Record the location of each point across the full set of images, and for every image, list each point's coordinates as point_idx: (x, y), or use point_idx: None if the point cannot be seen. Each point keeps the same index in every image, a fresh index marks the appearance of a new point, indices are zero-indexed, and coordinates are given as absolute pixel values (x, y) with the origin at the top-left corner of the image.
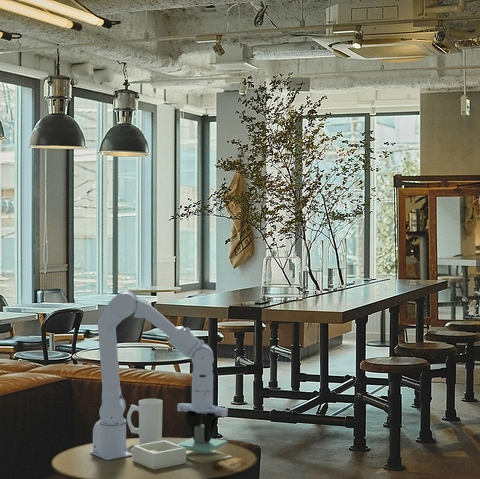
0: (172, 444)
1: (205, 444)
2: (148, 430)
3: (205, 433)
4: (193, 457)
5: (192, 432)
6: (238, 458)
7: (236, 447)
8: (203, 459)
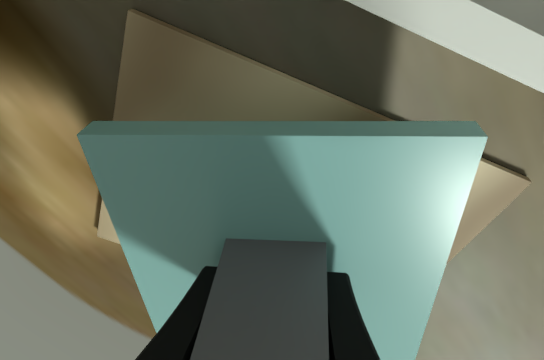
0: (522, 27)
1: (214, 240)
2: None
3: (186, 328)
4: (286, 112)
5: (356, 331)
6: (66, 231)
7: None
8: (185, 100)
